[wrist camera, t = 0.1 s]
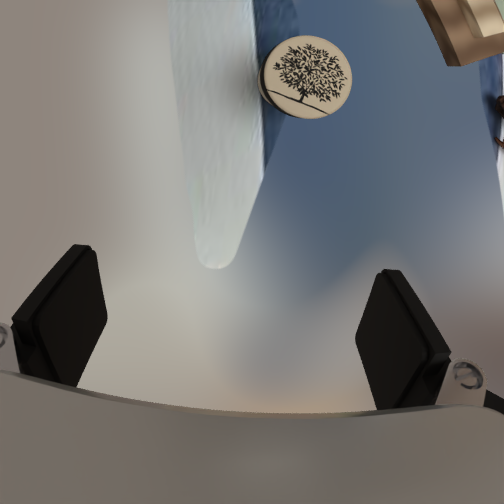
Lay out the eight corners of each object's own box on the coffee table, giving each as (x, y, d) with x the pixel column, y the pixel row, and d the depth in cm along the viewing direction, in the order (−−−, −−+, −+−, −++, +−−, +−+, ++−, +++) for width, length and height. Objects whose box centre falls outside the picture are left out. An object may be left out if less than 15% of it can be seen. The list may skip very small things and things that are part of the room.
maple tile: (448, -16, 27) (457, -19, 24) (473, -19, 25) (482, -22, 23) (474, 37, 30) (483, 37, 28) (497, 31, 29) (506, 31, 27)
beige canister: (275, 44, 37) (290, 16, 21) (326, 72, 39) (371, 65, 23) (246, 91, 40) (243, 93, 24) (297, 119, 42) (326, 138, 26)
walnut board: (401, -25, 30) (413, -31, 26) (461, -34, 26) (474, -39, 23) (447, 66, 36) (461, 66, 33) (500, 48, 33) (514, 48, 30)
